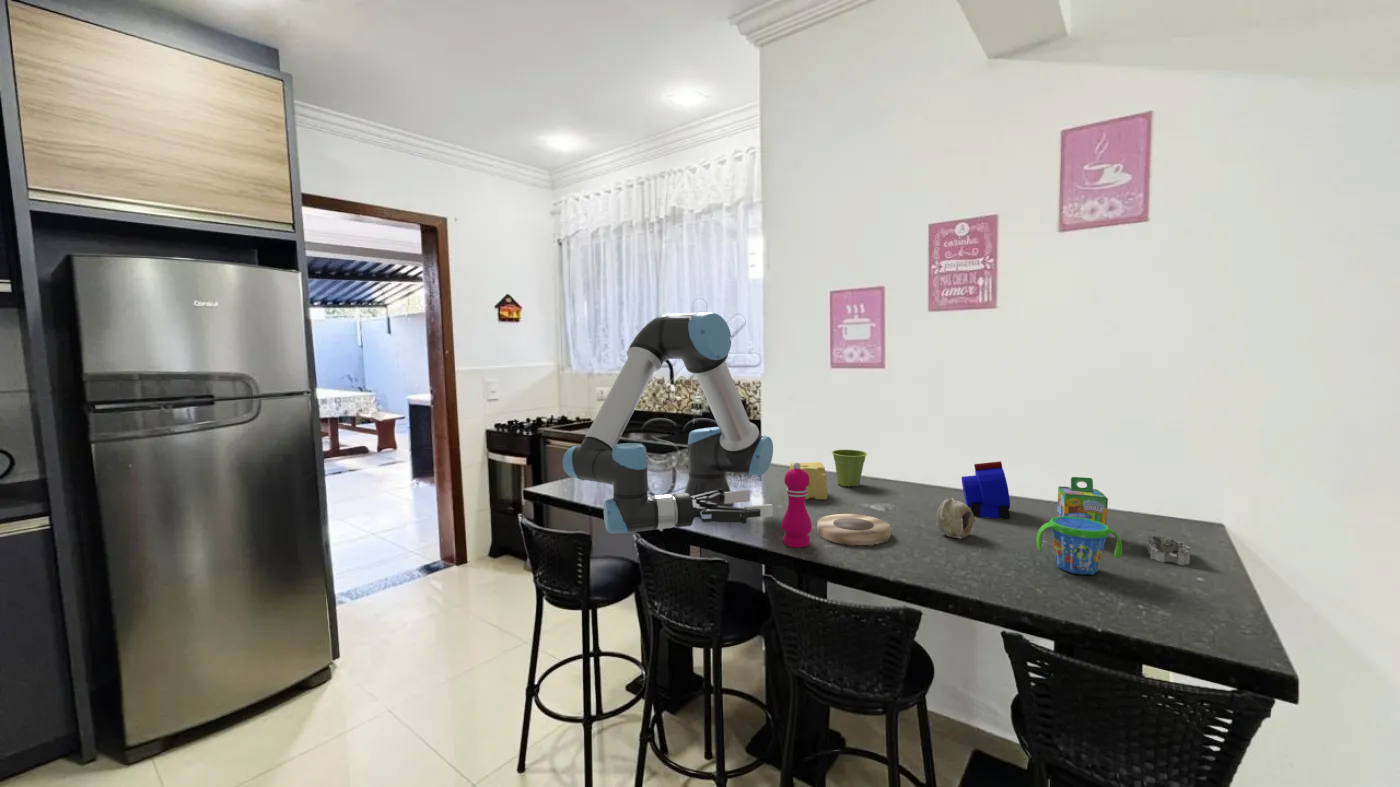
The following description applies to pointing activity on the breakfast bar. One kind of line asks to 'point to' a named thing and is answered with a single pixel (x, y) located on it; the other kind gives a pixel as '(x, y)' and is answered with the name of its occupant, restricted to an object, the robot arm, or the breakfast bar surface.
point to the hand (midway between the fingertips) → (760, 502)
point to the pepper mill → (796, 509)
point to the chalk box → (1082, 501)
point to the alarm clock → (987, 491)
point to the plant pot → (849, 466)
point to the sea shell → (955, 518)
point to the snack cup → (1078, 543)
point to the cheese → (815, 480)
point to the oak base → (853, 529)
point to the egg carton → (1167, 550)
